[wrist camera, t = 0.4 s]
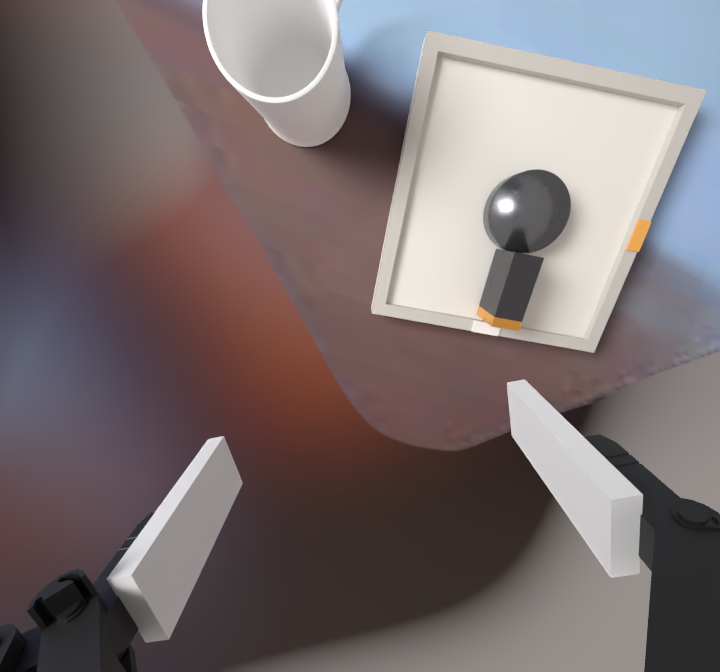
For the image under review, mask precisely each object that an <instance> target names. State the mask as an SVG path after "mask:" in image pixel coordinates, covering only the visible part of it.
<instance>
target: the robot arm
mask: <svg viewBox="0 0 720 672" xmlns="http://www.w3.org/2000/svg"><path fill="white" fill-rule="evenodd" d="M507 391H508V401H509V411H510V422H511V432H512V437H513V438H514V440H515V441H516V442H517V444H518V445H519V446H520V448H521V450H522V451H523V452H524V454H525V455H526V457H527V458H528V460H529V461H530V462H531V464H532V465H533V467H534V468H535V470H536V471H537V473H538V474H539V475H540V477H541V478H542V480H543V481H544V482H545V484H546V485H547V487H548V488H549V490H550V491H551V493H552V494H553V495H554V497H555V498H556V500H557V501H558V503H559V504H560V505H561V507H562V508H563V510H564V511H565V513H566V514H567V515H568V517H569V519H570V520H571V521H572V523H573V524H574V526H575V527H576V529H577V530H578V531H579V533H580V534H581V536H582V537H583V539H584V540H585V541H586V543H587V544H588V546H589V547H590V549H591V550H592V552H593V553H594V554H595V556H596V557H597V559H598V560H599V562H600V563H601V565H602V566H603V567H604V569H605V570H606V572H607V573H608V574H609V576H610V577H611V578H612V577H619V576H626V575H633V574H639V572H640V558H641V559H642V560H643V562H644V563H645V564H646V565H647V566H648V568H649V569H650V570H651V571H652V577H651V591H650V603H649V604H650V605H649V618H648V630H647V644H646V659H645V670H644V672H720V514H719V513H718V512H716V511H714V510H713V509H711V508H710V507H708V506H706V505H704V504H701V503H698V502H696V501H693V500H689V499H683V498H680V497H679V496H677V495H676V494H675V493H674V492H673V491H672V490H671V489H669V488H668V487H667V486H666V485H665V484H664V483H662V482H661V481H660V480H659V479H658V478H657V477H656V476H654V475H653V474H652V473H651V472H650V471H649V470H648V469H646V468H645V467H644V466H643V465H642V464H639V462H638V461H637V460H636V459H635V458H634V457H633V456H631V455H629V453H628V452H627V451H626V450H624V449H623V448H622V447H621V446H620V445H618V444H617V443H616V442H614V441H612V440H610V439H608V438H606V437H604V436H602V435H593V436H587V437H583V436H582V435H581V434H580V433H579V432H578V431H577V430H576V429H575V428H574V427H573V426H572V425H571V424H570V423H569V422H568V421H567V420H566V419H565V418H564V417H563V416H562V415H561V414H559V413H558V412H557V411H556V410H555V409H554V408H553V407H552V406H551V405H550V404H549V403H548V402H547V401H546V400H545V399H544V398H543V397H542V396H541V395H540V394H539V393H538V392H537V391H536V390H535V389H534V388H533V387H532V386H531V385H530V384H529V383H528V382H527V381H526V380H519V381H514V382H509V383H507ZM241 485H242V480H241V478H240V475H239V473H238V470H237V468H236V466H235V463H234V460H233V458H232V455H231V453H230V450H229V448H228V446H227V443H226V441H225V438H224V436H222V437H217V438H212V439H208V440H207V442H206V443H205V445H204V446H203V447H202V449H201V450H200V451H199V453H198V454H197V455H196V457H195V458H194V460H193V461H192V462H191V464H190V465H189V466H188V468H187V469H186V471H185V472H184V473H183V475H182V476H181V478H180V479H179V480H178V482H177V483H176V484H175V486H174V487H173V489H172V490H171V491H170V493H169V494H168V495H167V497H166V498H165V499H164V501H163V502H162V504H161V505H160V506H159V508H158V509H157V510H156V512H153V513H150V514H149V515H148V516H147V517H146V518H145V519H144V520H143V521H141V523H140V524H138V525H137V527H136V528H135V530H134V531H133V532H132V533H131V535H130V536H129V537H128V540H126V541H125V542H124V544H123V545H122V547H121V548H120V551H118V552H117V553H116V554H115V556H114V557H113V558H112V560H111V561H110V562H109V564H108V565H107V566H106V568H105V569H104V570H103V572H102V573H101V574H100V576H99V577H98V578H97V580H96V581H95V582H94V584H92V583H91V581H90V580H89V578H88V577H87V575H86V574H85V572H84V570H79V569H76V570H72V571H69V572H67V573H65V574H63V575H61V576H59V577H57V578H56V579H55V580H54V581H52V582H50V583H49V584H47V585H46V586H45V587H44V588H43V589H42V590H41V591H40V592H39V593H38V594H37V595H36V597H35V598H34V599H33V600H32V601H31V603H30V605H29V607H28V609H27V612H28V613H29V614H30V616H31V617H32V618H33V620H34V621H35V622H36V624H37V625H38V627H35V628H33V629H31V630H29V631H26V632H24V633H22V634H21V633H20V631H19V630H18V629H17V627H16V626H15V625H14V624H5V625H3V626H0V672H137V665H136V657H135V651H134V649H133V647H132V645H131V641H132V639H133V637H134V636H135V634H136V632H137V630H138V631H139V632H140V634H141V636H142V637H143V639H144V640H145V642H154V641H161V640H168V639H169V638H170V636H171V634H172V632H173V630H174V628H175V625H176V623H177V621H178V619H179V617H180V615H181V613H182V611H183V608H184V606H185V604H186V602H187V600H188V598H189V596H190V594H191V591H192V589H193V587H194V585H195V583H196V581H197V579H198V576H199V575H200V572H201V570H202V568H203V566H204V564H205V562H206V560H207V558H208V555H209V553H210V551H211V549H212V547H213V545H214V543H215V540H216V538H217V536H218V534H219V532H220V530H221V528H222V526H223V523H224V522H225V519H226V517H227V515H228V513H229V511H230V508H231V507H232V504H233V502H234V500H235V498H236V496H237V494H238V492H239V490H240V488H241Z"/></svg>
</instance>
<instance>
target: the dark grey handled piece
mask: <svg viewBox="0 0 720 672" xmlns="http://www.w3.org/2000/svg"><path fill="white" fill-rule="evenodd" d="M570 210H571V200H570V195H569V191H568V189H567V187H566V185H565V183H564V182H563V181H562V180H561V179H560V178H559V177H558V176H557V175H555V174H554V173H551V172H549V171H546V170H540V169H533V170H527V171H524V172H521V173H518V174H515V175H512V176H510V177H508V178H506V179H504V180H503V181H502V182H500V183H499V184H498V185H497V186H496V187H495V188H494V189H493V191H492V192H491V194H490V195H489V197H488V199H487V201H486V204H485V207H484V212H483V224H484V228H485V231H486V234H487V236H488V237H489V239H490V240H491V241H492V242H493V243H494V244H495V245H496V246H498V247H499V248H501V249H504V250H501V249H496V250H495V253H494V257H493V260H492V264H491V267H490V270H489V274H488V277H487V280H486V284H485V287H484V290H483V294H482V297H481V300H480V304H479V307H478V310H477V315H478V316H479V317H481V318H482V319H483V320H484V321H485V322H487V323H488V324H489V325H490V326H492V327H497V328H503V329H509V330H514V331H519V329H520V327H521V324H522V321H523V318H524V315H525V312H526V309H527V306H528V303H529V301H530V298H531V295H532V292H533V289H534V286H535V283H536V280H537V277H538V274H539V272H540V269H541V266H542V263H543V260H544V258H542V257H537V256H532V255H527V254H522V253H532V252H536V251H539V250H541V249H543V248H545V247H547V246H548V245H550V244H551V243H552V242H554V241H555V240H556V239H557V238H558V237H559V235H560V234H561V233H562V231H563V230H564V228H565V226H566V224H567V222H568V219H569V215H570ZM506 250H507V251H506Z"/></svg>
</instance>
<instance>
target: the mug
mask: <svg viewBox="0 0 720 672" xmlns="http://www.w3.org/2000/svg"><path fill="white" fill-rule="evenodd" d="M341 3H342V0H203V25H204V32H205V36H206V40H207V44H208V47H209V50H210V52H211V55H212V57H213V59H214V61H215V63H216V65H217V66H218V68H219V69H220V71H221V72H222V74H223V75H224V76H225V78H226V79H227V80H228V81H229V82H230V83H231V84H232V85H233V86H234V87H235V88H236V90H237V91H238V92H239V93H240V94H241V95H242V96H243V97H244V98H245V99H246V100H247V101H248V102H249V103H250V104H251V105H252V106H253V107H254V108H255V109H256V110H257V111H258V112H259V113H260V114H261V115H262V116H263V117H264V119H265V121H266V122H267V124H268V125H269V127H270V128H271V129H272V130H273V132H274V133H275V134H276V135H278V136H279V137H280V138H281V139H283V140H284V141H286V142H288V143H290V144H293V145H296V146H301V147H312V146H317V145H320V144H323V143H325V142H326V141H328V140H330V139H331V138H332V137H333V136H334V135H335V134H336V133H337V132H338V131H339V130H340V128H341V127H342V125H343V124H344V122H345V120H346V117H347V114H348V111H349V107H350V99H351V91H350V83H349V78H348V75H347V72H346V69H345V65H344V57H343V50H342V42H341V34H340V27H339V19H338V12H339V9H340V6H341Z"/></svg>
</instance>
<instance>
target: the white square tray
mask: <svg viewBox="0 0 720 672" xmlns="http://www.w3.org/2000/svg"><path fill="white" fill-rule="evenodd" d="M706 91H707V90H703V89H698V88H693V87H689V86H684V85H680V84H675V83H670V82H666V81H661V80H656V79H652V78H647V77H642V76H638V75H633V74H629V73H624V72H619V71H615V70H610V69H605V68H601V67H596V66H591V65H587V64H582V63H577V62H573V61H568V60H564V59H559V58H554V57H550V56H545V55H540V54H536V53H531V52H526V51H522V50H517V49H513V48H508V47H503V46H499V45H494V44H489V43H485V42H480V41H475V40H471V39H466V38H461V37H457V36H452V35H448V34H443V33H438V32H434V31H429V30H427V33H426V36H425V39H424V42H423V45H422V49H421V54H420V59H419V64H418V69H417V75H416V80H415V85H414V90H413V95H412V100H411V105H410V111H409V116H408V121H407V126H406V131H405V136H404V141H403V146H402V152H401V157H400V162H399V167H398V172H397V177H396V182H395V188H394V193H393V198H392V203H391V208H390V213H389V218H388V224H387V229H386V234H385V239H384V244H383V249H382V254H381V260H380V265H379V270H378V275H377V280H376V285H375V290H374V296H373V301H372V306H371V310H372V313H373V314H378V315H384V316H389V317H395V318H401V319H406V320H412V321H418V322H423V323H429V324H435V325H440V326H446V327H452V328H457V329H463V330H468V331H472V332H477V333H483V334H488V335H494V336H502V337H508V338H514V339H519V340H525V341H530V342H536V343H542V344H547V345H553V346H559V347H564V348H570V349H576V350H581V351H587V352H592V353H594V351H595V349H596V347H597V344H598V342H599V340H600V337H601V335H602V333H603V330H604V328H605V326H606V323H607V321H608V319H609V316H610V314H611V312H612V310H613V307H614V305H615V303H616V300H617V298H618V296H619V293H620V291H621V289H622V286H623V284H624V282H625V279H626V277H627V275H628V272H629V270H630V268H631V265H632V263H633V261H634V258H635V256H636V254H637V252H639V251H640V248H641V246H642V244H643V241H644V239H645V237H646V234H647V232H648V230H649V227H650V225H651V223H652V222H651V219H652V216H653V214H654V212H655V209H656V207H657V205H658V202H659V200H660V198H661V195H662V193H663V191H664V188H665V186H666V184H667V181H668V179H669V177H670V174H671V172H672V170H673V167H674V165H675V163H676V160H677V158H678V156H679V153H680V151H681V149H682V147H683V144H684V142H685V140H686V137H687V135H688V133H689V130H690V128H691V126H692V123H693V121H694V119H695V116H696V114H697V112H698V109H699V107H700V105H701V102H702V100H703V98H704V95H705V93H706ZM533 169H540V170H546V171H549V172H551V173H554V174H555V175H557V176H558V177H559V178H560V179H561V180H562V181H563V182H564V183H565V185H566V187H567V189H568V191H569V195H570V200H571V210H570V215H569V219H568V222H567V224H566V226H565V228H564V230H563V231H562V233H561V234H560V235H559V237H558V238H557V239H556V240H555V241H554V242H552V243H551V244H550V245H548V246H547V247H545V248H543V249H541V250H539V251H536V252H532V253H522V254H527V255H532V256H537V257H542V258H544V260H543V263H542V266H541V269H540V272H539V274H538V277H537V280H536V283H535V286H534V289H533V292H532V295H531V298H530V301H529V303H528V306H527V309H526V312H525V315H524V318H523V321H522V324H521V327H520V329H519V331H514V330H509V329H503V328H497V327H492V326H490V325H489V324H488V323H487V322H485V321H484V320H483V319H482V318H481V317H479V316H478V315H477V310H478V307H479V304H480V300H481V297H482V294H483V290H484V287H485V284H486V280H487V277H488V274H489V270H490V267H491V264H492V260H493V257H494V253H495V250H496V249H501V248H499V247H498V246H496V245H495V244H494V243H493V242H492V241H491V240H490V239H489V237H488V236H487V234H486V231H485V228H484V224H483V212H484V207H485V204H486V201H487V199H488V197H489V195H490V194H491V192H492V191H493V189H494V188H495V187H496V186H497V185H498V184H499V183H500V182H502V181H503V180H504V179H506V178H508V177H510V176H512V175H515V174H518V173H521V172H524V171H527V170H533ZM501 250H504V249H501ZM506 251H507V250H506Z"/></svg>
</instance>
